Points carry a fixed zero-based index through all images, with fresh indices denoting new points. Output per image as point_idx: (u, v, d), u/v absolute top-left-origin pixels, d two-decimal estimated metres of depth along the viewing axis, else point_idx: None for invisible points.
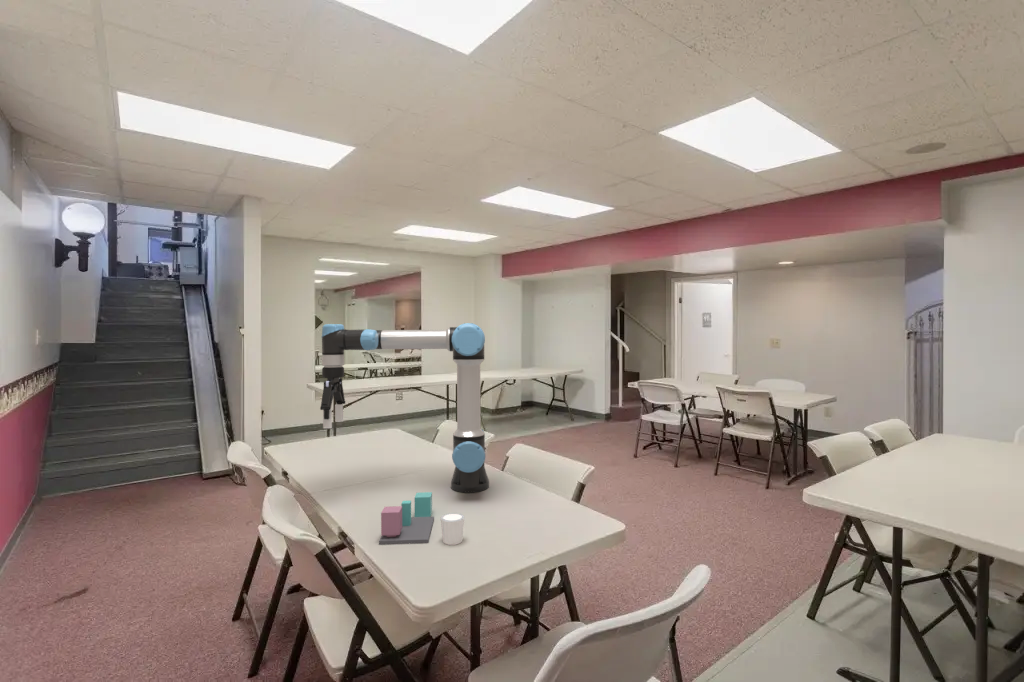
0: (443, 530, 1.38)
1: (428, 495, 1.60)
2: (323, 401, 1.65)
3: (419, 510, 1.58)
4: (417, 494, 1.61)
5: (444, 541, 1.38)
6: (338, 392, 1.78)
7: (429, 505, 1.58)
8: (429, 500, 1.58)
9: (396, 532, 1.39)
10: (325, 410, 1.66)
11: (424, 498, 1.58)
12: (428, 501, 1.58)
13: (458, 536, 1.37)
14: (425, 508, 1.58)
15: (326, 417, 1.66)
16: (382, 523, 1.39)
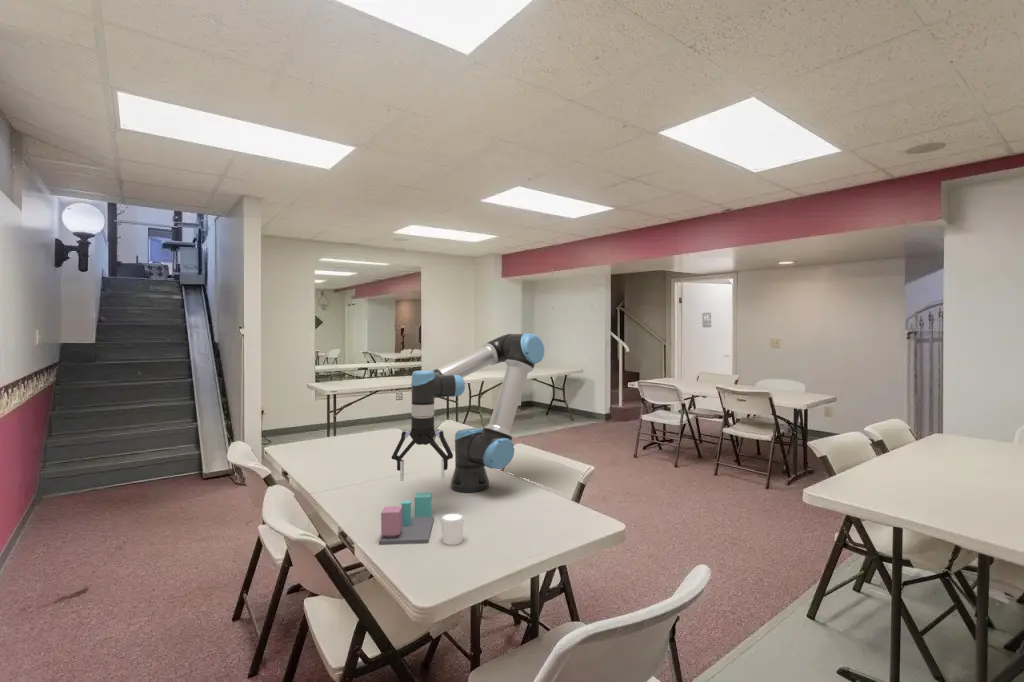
0: (443, 530, 1.38)
1: (428, 495, 1.60)
2: None
3: (419, 510, 1.58)
4: (417, 494, 1.61)
5: (444, 541, 1.38)
6: None
7: (429, 505, 1.58)
8: (429, 500, 1.58)
9: (396, 532, 1.39)
10: None
11: (424, 498, 1.58)
12: (428, 501, 1.58)
13: (458, 536, 1.37)
14: (425, 508, 1.58)
15: None
16: (382, 523, 1.39)
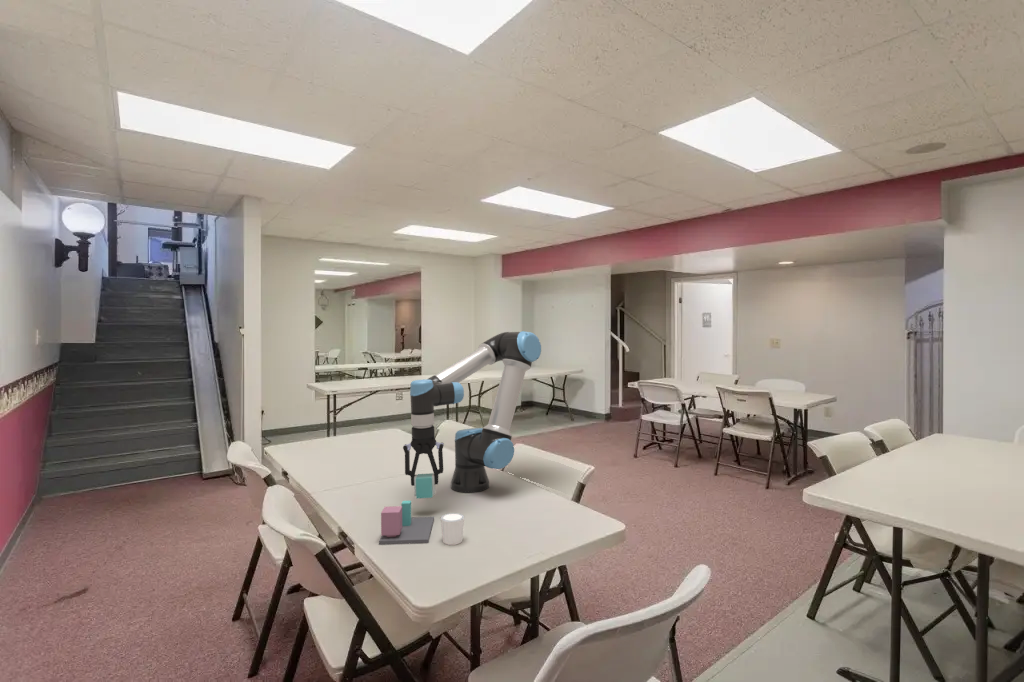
0: (443, 530, 1.38)
1: (429, 476, 1.60)
2: None
3: (421, 491, 1.59)
4: (418, 475, 1.61)
5: (444, 541, 1.38)
6: None
7: (430, 486, 1.59)
8: (430, 481, 1.59)
9: (396, 532, 1.39)
10: None
11: (425, 479, 1.59)
12: (429, 482, 1.59)
13: (458, 536, 1.37)
14: (426, 489, 1.59)
15: None
16: (382, 523, 1.39)
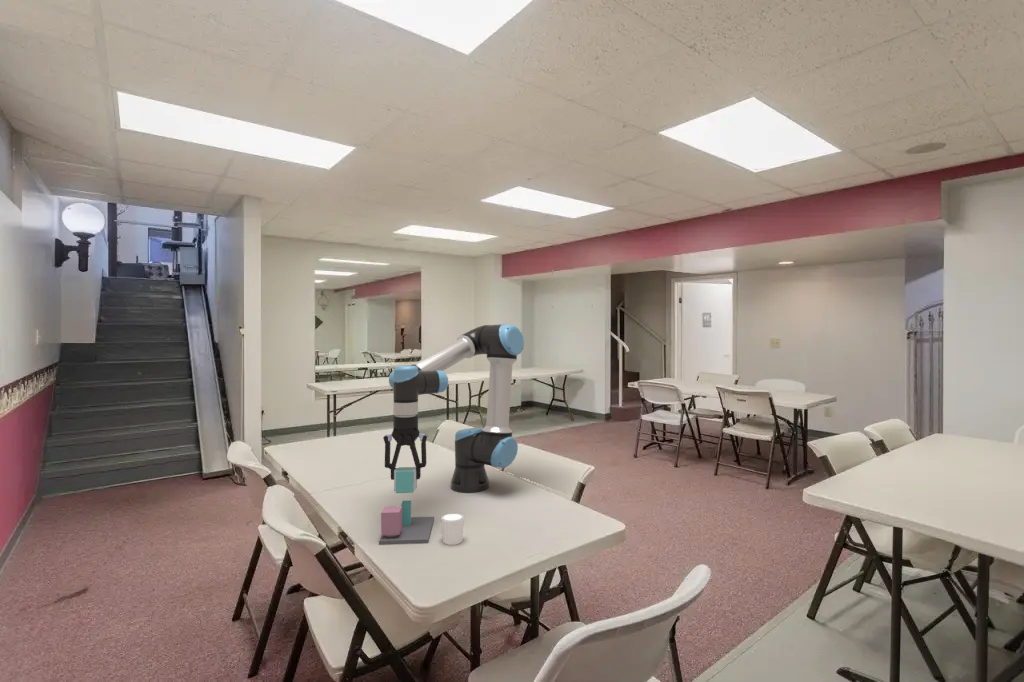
0: (443, 530, 1.38)
1: (411, 469, 1.49)
2: None
3: (401, 486, 1.47)
4: (399, 469, 1.50)
5: (444, 541, 1.38)
6: None
7: (411, 480, 1.47)
8: (411, 474, 1.47)
9: (396, 532, 1.39)
10: None
11: (406, 472, 1.47)
12: (410, 476, 1.47)
13: (458, 536, 1.37)
14: (407, 483, 1.47)
15: None
16: (382, 523, 1.39)
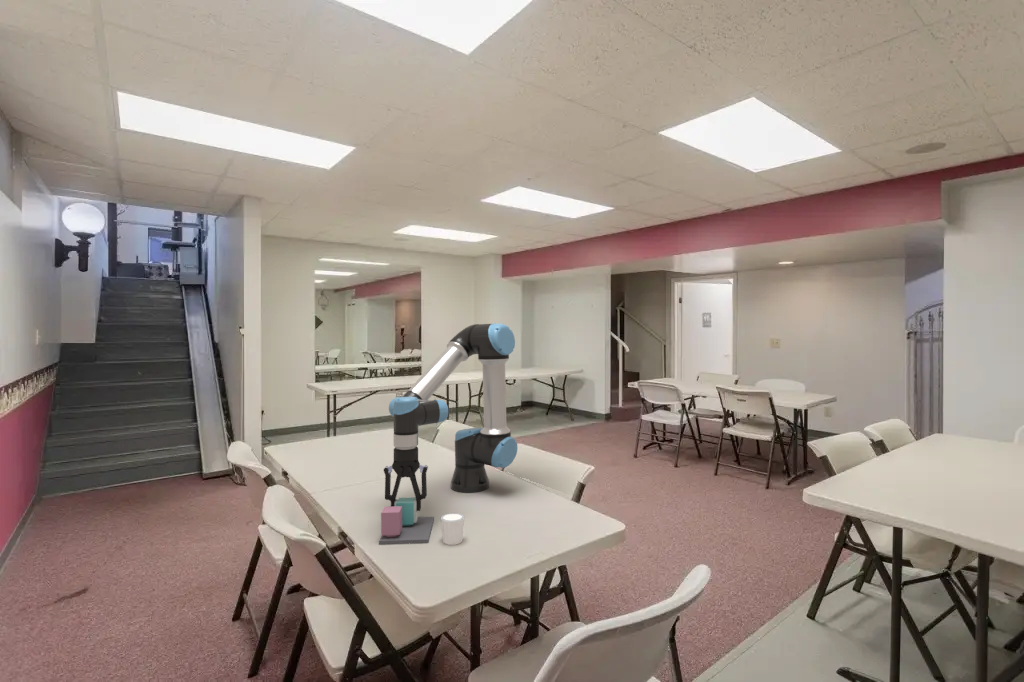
0: (443, 530, 1.38)
1: (411, 501, 1.49)
2: None
3: None
4: (399, 499, 1.50)
5: (444, 541, 1.38)
6: None
7: (412, 511, 1.47)
8: (412, 506, 1.47)
9: (396, 532, 1.39)
10: None
11: (406, 504, 1.47)
12: (411, 507, 1.47)
13: (458, 536, 1.37)
14: (407, 515, 1.47)
15: None
16: (382, 523, 1.39)
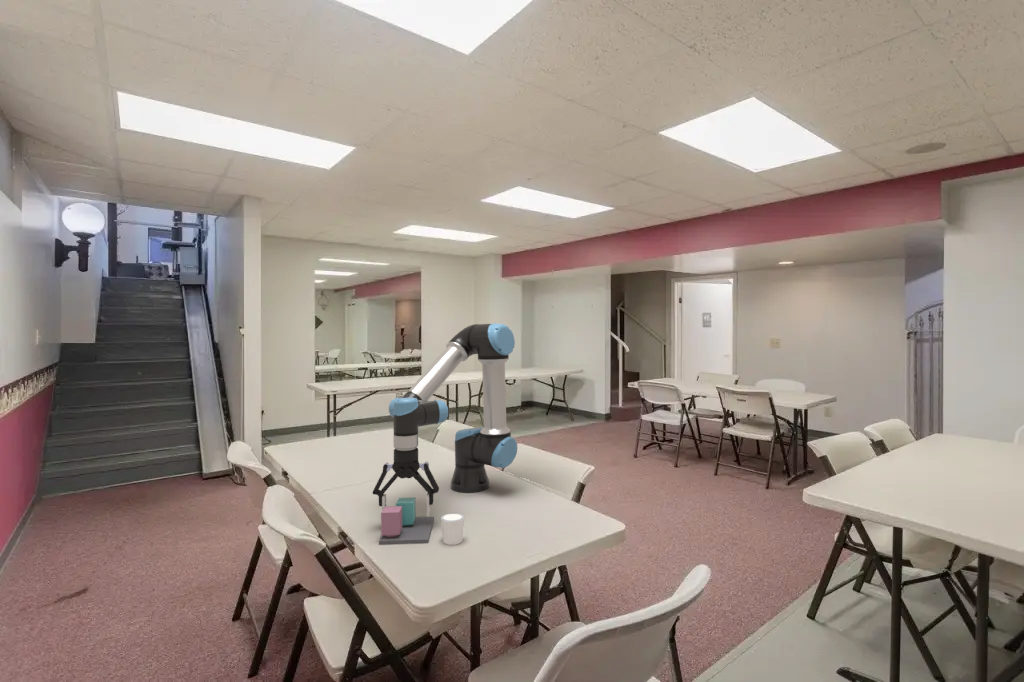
0: (443, 530, 1.38)
1: (411, 501, 1.49)
2: None
3: None
4: (399, 499, 1.50)
5: (444, 541, 1.38)
6: None
7: (412, 511, 1.47)
8: (412, 506, 1.47)
9: (396, 532, 1.39)
10: None
11: (406, 504, 1.47)
12: (411, 507, 1.47)
13: (458, 536, 1.37)
14: (407, 515, 1.47)
15: None
16: (382, 523, 1.39)
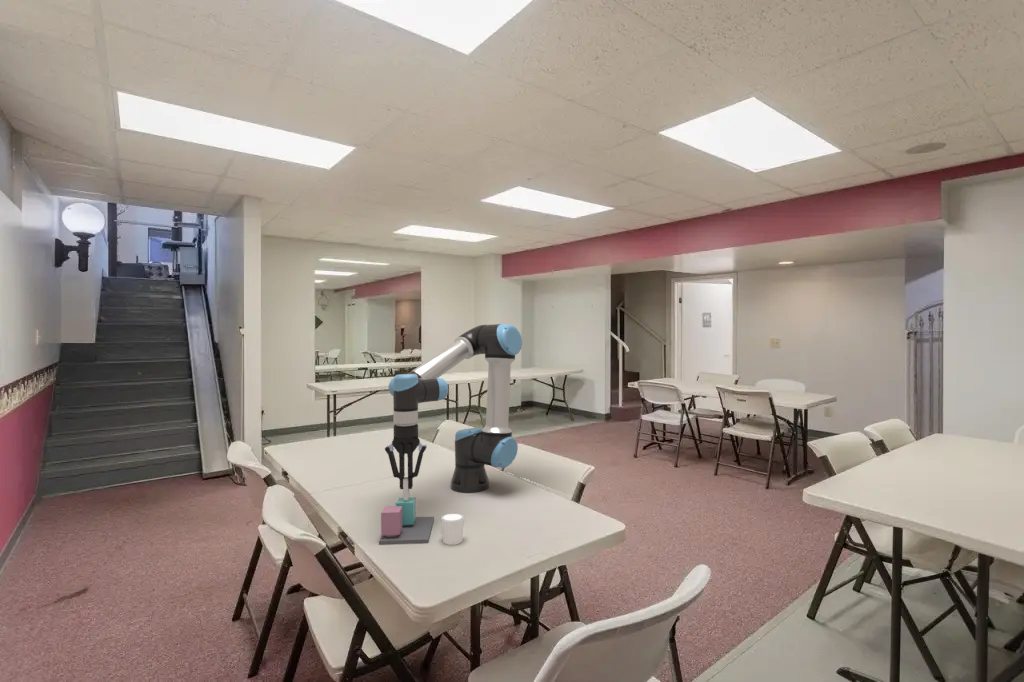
0: (443, 530, 1.38)
1: (411, 501, 1.49)
2: None
3: None
4: (399, 499, 1.50)
5: (444, 541, 1.38)
6: None
7: (412, 511, 1.47)
8: (412, 506, 1.47)
9: (396, 532, 1.39)
10: None
11: (406, 504, 1.47)
12: (411, 507, 1.47)
13: (458, 536, 1.37)
14: (407, 515, 1.47)
15: None
16: (382, 523, 1.39)
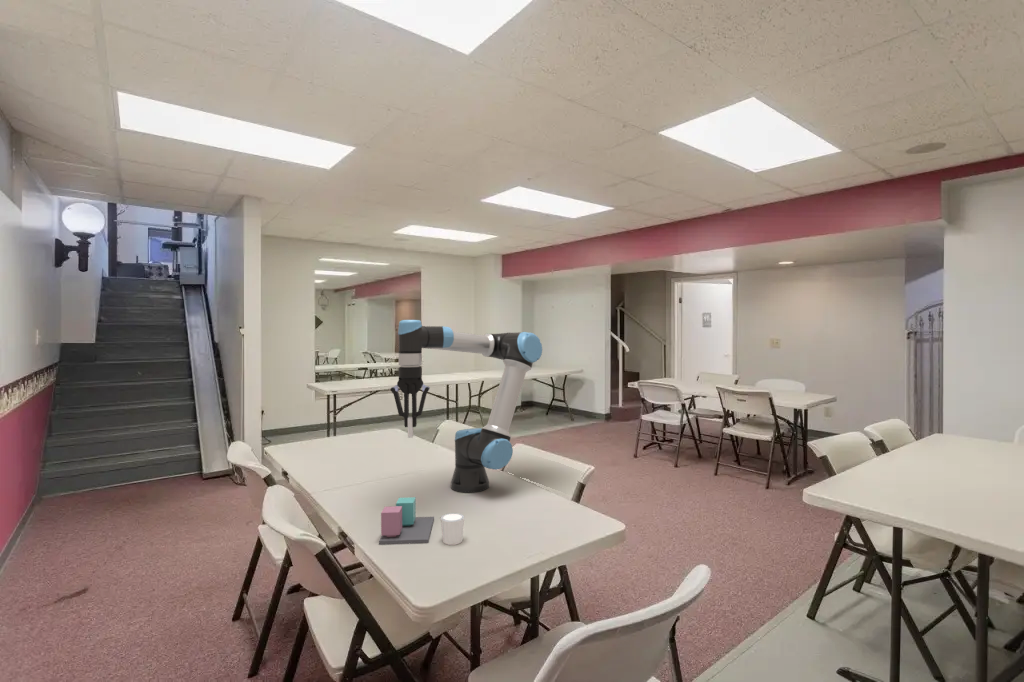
0: (443, 530, 1.38)
1: (411, 501, 1.49)
2: None
3: None
4: (399, 499, 1.50)
5: (444, 541, 1.38)
6: (412, 397, 1.59)
7: (412, 511, 1.47)
8: (412, 506, 1.47)
9: (396, 532, 1.39)
10: None
11: (406, 504, 1.47)
12: (411, 507, 1.47)
13: (458, 536, 1.37)
14: (407, 515, 1.47)
15: None
16: (382, 523, 1.39)
